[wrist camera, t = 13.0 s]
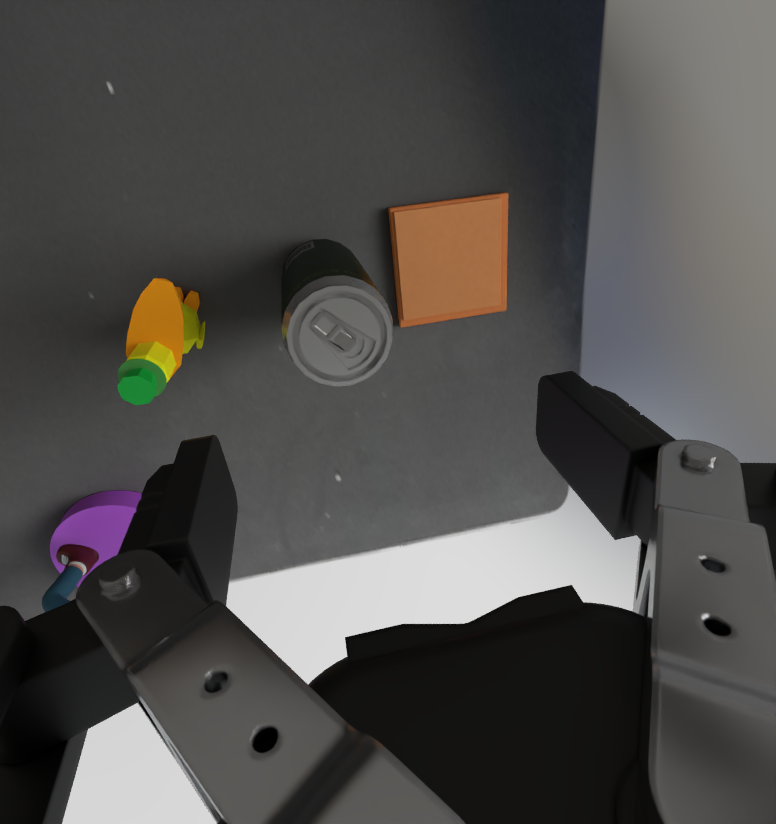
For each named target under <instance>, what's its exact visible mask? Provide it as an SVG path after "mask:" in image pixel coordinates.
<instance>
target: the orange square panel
mask: <svg viewBox="0 0 776 824" xmlns="http://www.w3.org/2000/svg"><path fill="white" fill-rule="evenodd" d="M388 213H389V224H390V235H391V245H392V256H393V266H394V277H395V288H396V298H397V309H398V320H399V326H400V327H401V328H402V327H408V326H414V325H420V324H426V323H433V322H439V321H445V320H451V319H457V318H463V317H469V316H476V315H482V314H488V313H494V312H500V311H506V298H507V235H508V193H505V192H503V193H496V194H488V195H481V196H473V197H466V198H458V199H451V200H443V201H436V202H428V203H421V204H413V205H406V206H398V207H391V208H388Z"/></svg>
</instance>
